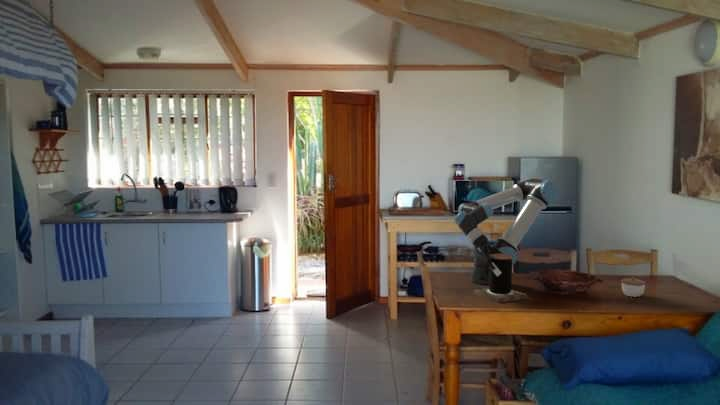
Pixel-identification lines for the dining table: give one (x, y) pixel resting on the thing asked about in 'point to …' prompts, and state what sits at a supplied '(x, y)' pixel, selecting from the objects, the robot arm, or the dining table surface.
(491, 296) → the walnut board
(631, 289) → the lidded jar
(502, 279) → the coffee jar
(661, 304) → the dining table surface
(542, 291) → the dining table surface
